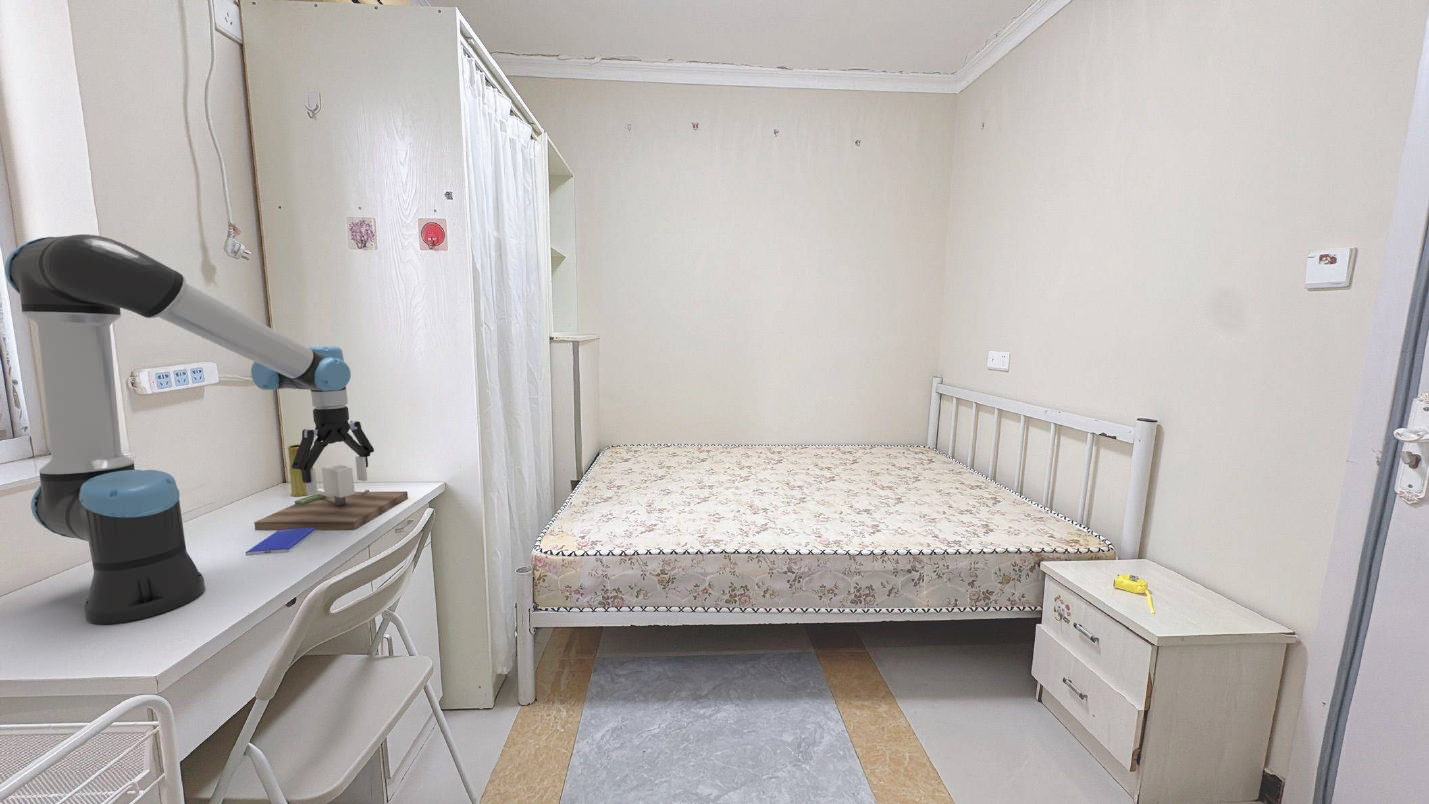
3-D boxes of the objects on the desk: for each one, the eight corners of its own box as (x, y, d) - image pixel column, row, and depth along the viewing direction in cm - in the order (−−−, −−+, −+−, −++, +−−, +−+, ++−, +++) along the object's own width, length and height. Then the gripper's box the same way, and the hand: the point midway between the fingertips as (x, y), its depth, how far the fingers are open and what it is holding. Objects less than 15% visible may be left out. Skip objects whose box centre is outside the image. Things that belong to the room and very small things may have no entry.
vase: (309, 489, 168) (304, 442, 166) (321, 491, 166) (316, 444, 164) (286, 494, 163) (281, 446, 161) (298, 497, 160) (293, 448, 158)
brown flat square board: (354, 529, 136) (353, 517, 135) (255, 530, 136) (253, 518, 135) (407, 498, 159) (407, 488, 159) (323, 498, 159) (322, 488, 159)
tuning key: (356, 505, 147) (352, 467, 145) (341, 509, 144) (337, 471, 142) (326, 495, 155) (322, 460, 153) (311, 499, 152) (307, 463, 150)
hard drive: (276, 530, 133) (245, 551, 121) (315, 527, 135) (288, 547, 123) (277, 536, 133) (246, 558, 121) (316, 533, 135) (289, 554, 123)
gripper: (364, 399, 156) (371, 473, 159) (267, 413, 133) (277, 499, 136) (384, 401, 154) (391, 476, 157) (289, 415, 130) (299, 503, 133)
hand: (338, 487), depth 146 cm, fingers open, 13 cm apart
